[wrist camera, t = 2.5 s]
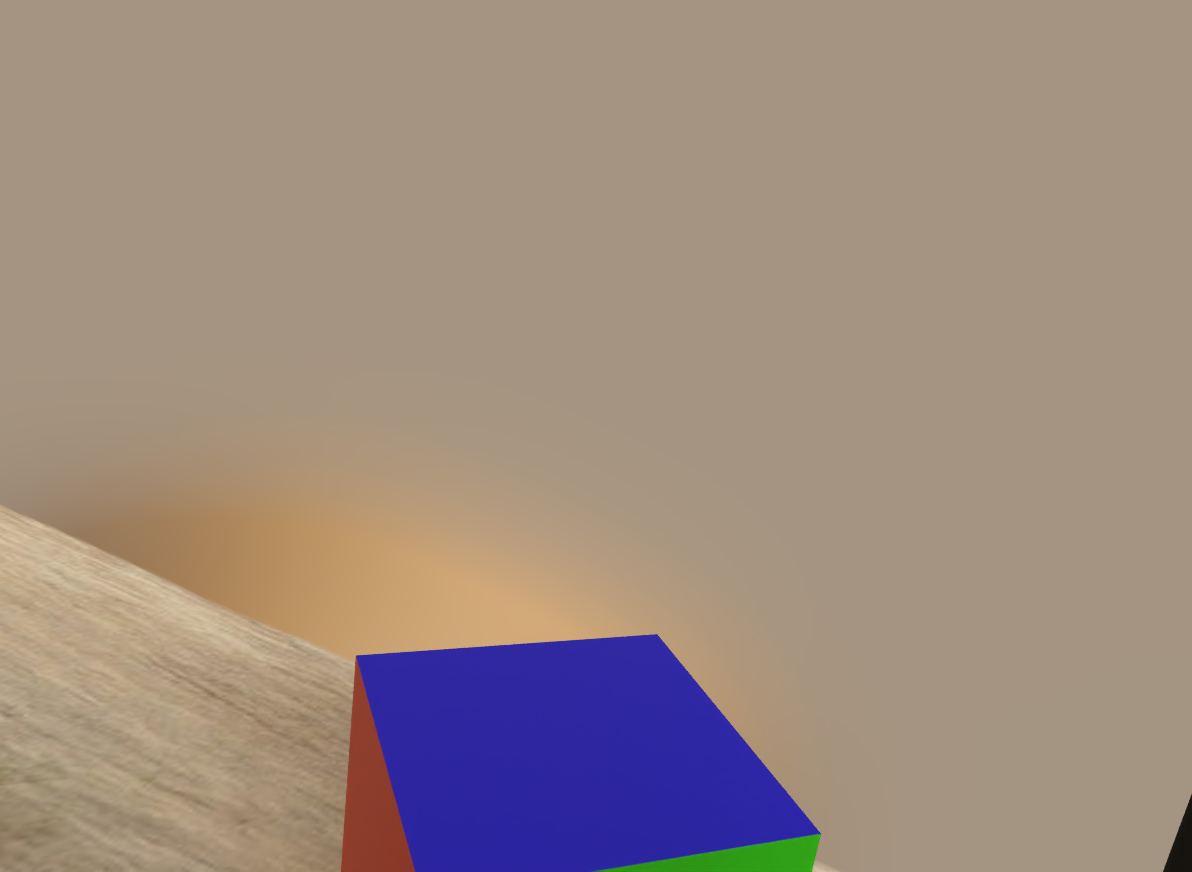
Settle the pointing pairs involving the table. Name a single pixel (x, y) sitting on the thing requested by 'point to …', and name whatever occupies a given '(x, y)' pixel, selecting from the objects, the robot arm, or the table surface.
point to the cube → (556, 766)
